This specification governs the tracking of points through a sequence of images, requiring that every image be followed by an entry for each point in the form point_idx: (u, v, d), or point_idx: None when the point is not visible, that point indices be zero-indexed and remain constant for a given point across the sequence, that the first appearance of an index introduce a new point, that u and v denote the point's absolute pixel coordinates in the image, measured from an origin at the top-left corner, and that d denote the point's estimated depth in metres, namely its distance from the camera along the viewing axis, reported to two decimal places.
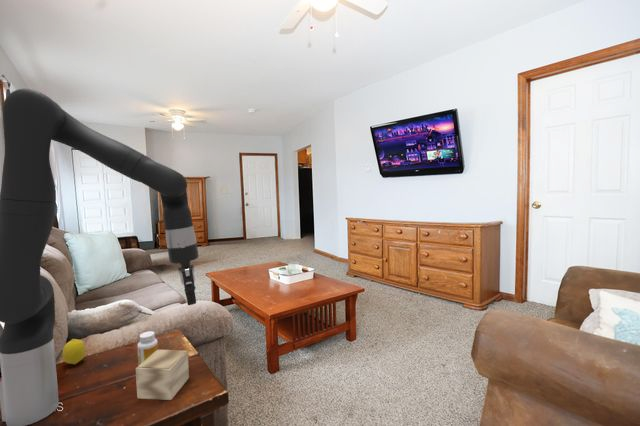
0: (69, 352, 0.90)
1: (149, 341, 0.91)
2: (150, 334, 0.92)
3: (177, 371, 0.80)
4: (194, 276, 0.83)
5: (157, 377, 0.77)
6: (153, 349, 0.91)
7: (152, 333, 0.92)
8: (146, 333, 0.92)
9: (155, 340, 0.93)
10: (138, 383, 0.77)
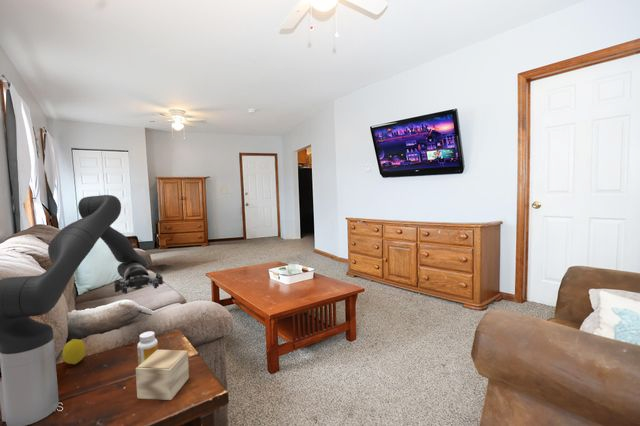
0: (69, 352, 0.90)
1: (149, 341, 0.91)
2: (150, 334, 0.92)
3: (177, 371, 0.80)
4: None
5: (157, 377, 0.77)
6: (153, 349, 0.91)
7: (152, 333, 0.92)
8: (146, 333, 0.92)
9: (155, 340, 0.93)
10: (138, 383, 0.77)
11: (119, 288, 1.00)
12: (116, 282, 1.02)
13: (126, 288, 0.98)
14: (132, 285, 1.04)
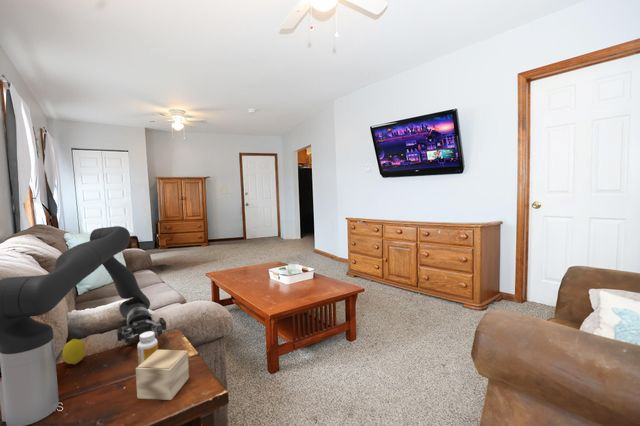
0: (69, 352, 0.90)
1: (149, 341, 0.91)
2: (150, 334, 0.92)
3: (177, 371, 0.80)
4: None
5: (157, 377, 0.77)
6: (153, 349, 0.91)
7: (152, 333, 0.92)
8: (146, 333, 0.92)
9: (155, 340, 0.93)
10: (138, 383, 0.77)
11: (122, 337, 0.98)
12: (119, 330, 1.00)
13: (129, 338, 0.95)
14: (135, 332, 1.02)
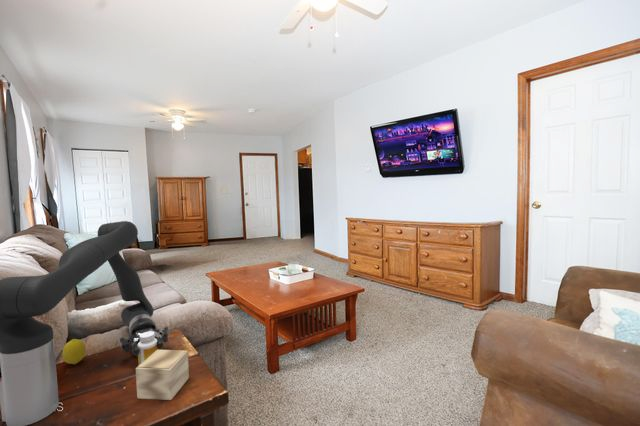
0: (69, 352, 0.90)
1: (149, 341, 0.91)
2: (150, 334, 0.92)
3: (177, 371, 0.80)
4: None
5: (157, 377, 0.77)
6: (153, 349, 0.91)
7: (152, 333, 0.92)
8: (146, 333, 0.92)
9: (155, 340, 0.93)
10: (138, 383, 0.77)
11: (129, 348, 0.91)
12: (123, 341, 0.93)
13: (137, 350, 0.88)
14: None
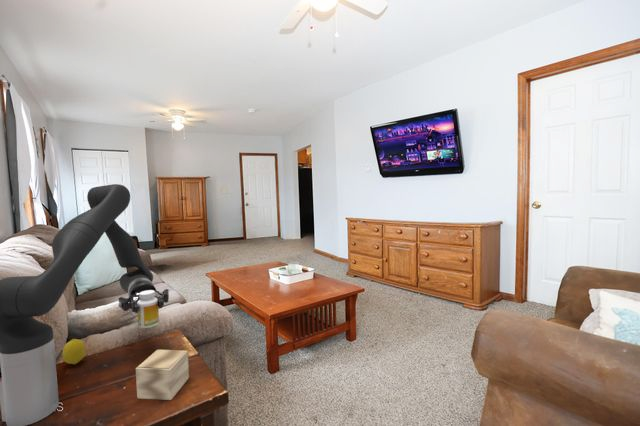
0: (69, 352, 0.90)
1: (149, 299, 0.88)
2: (150, 292, 0.89)
3: (177, 371, 0.80)
4: None
5: (157, 377, 0.77)
6: (153, 307, 0.88)
7: (152, 291, 0.89)
8: (146, 291, 0.89)
9: (155, 299, 0.90)
10: (138, 383, 0.77)
11: (129, 306, 0.88)
12: (122, 299, 0.89)
13: (137, 307, 0.85)
14: None
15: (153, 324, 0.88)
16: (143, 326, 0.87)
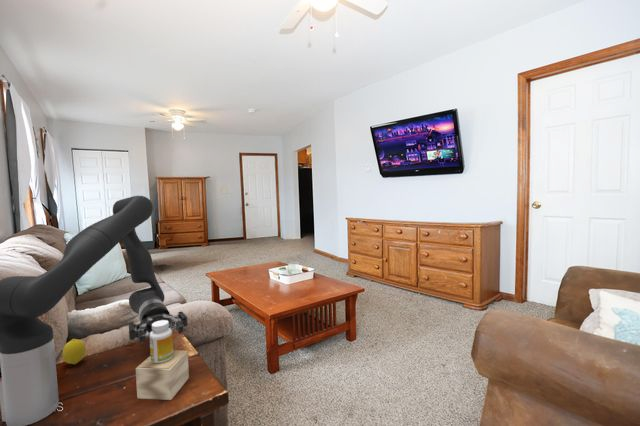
0: (69, 352, 0.90)
1: (163, 331, 0.79)
2: (164, 323, 0.80)
3: (177, 371, 0.80)
4: None
5: (157, 377, 0.77)
6: (167, 340, 0.80)
7: (166, 322, 0.81)
8: (159, 322, 0.81)
9: (169, 330, 0.81)
10: (138, 383, 0.77)
11: (135, 335, 0.79)
12: (131, 326, 0.81)
13: (144, 336, 0.77)
14: (150, 329, 0.83)
15: (167, 358, 0.80)
16: (157, 362, 0.79)
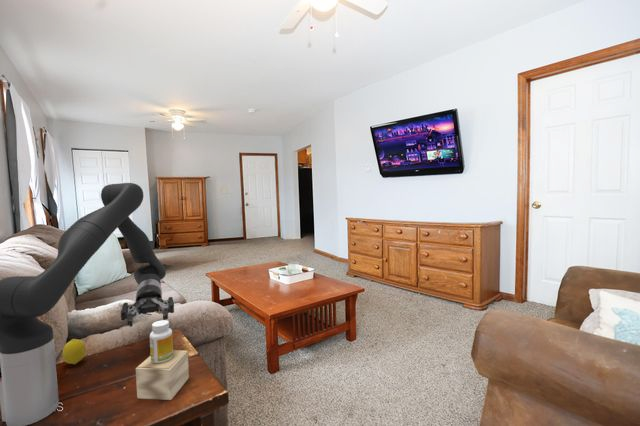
0: (69, 352, 0.90)
1: (163, 331, 0.79)
2: (164, 323, 0.80)
3: (177, 371, 0.80)
4: None
5: (157, 377, 0.77)
6: (168, 340, 0.80)
7: (166, 322, 0.81)
8: (159, 322, 0.81)
9: (169, 330, 0.81)
10: (138, 383, 0.77)
11: (125, 317, 0.90)
12: (124, 307, 0.92)
13: (131, 321, 0.87)
14: (141, 312, 0.94)
15: (167, 358, 0.80)
16: (157, 361, 0.79)
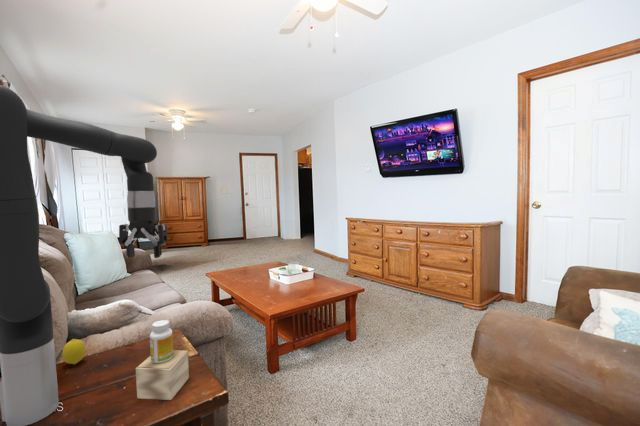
0: (69, 352, 0.90)
1: (163, 331, 0.79)
2: (164, 323, 0.80)
3: (177, 371, 0.80)
4: (156, 234, 0.96)
5: (157, 377, 0.77)
6: (168, 340, 0.80)
7: (166, 322, 0.81)
8: (159, 322, 0.81)
9: (170, 330, 0.81)
10: (138, 383, 0.77)
11: None
12: (120, 234, 0.94)
13: (130, 257, 0.95)
14: None
15: (167, 358, 0.80)
16: (157, 361, 0.79)
